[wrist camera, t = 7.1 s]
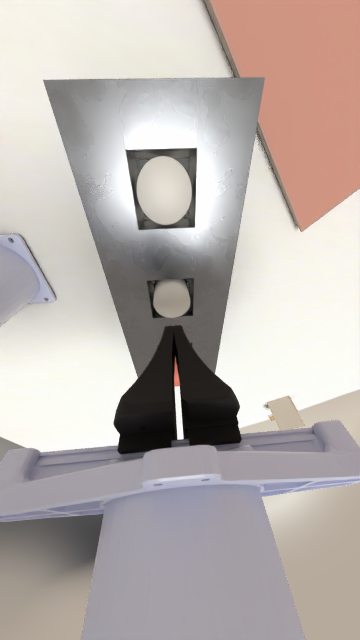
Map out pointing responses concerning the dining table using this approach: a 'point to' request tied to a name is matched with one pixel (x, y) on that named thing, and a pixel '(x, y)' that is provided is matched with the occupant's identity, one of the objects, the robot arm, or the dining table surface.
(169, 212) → the plug
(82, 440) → the dining table surface
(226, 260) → the block
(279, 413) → the architectural model
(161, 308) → the plug
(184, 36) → the dining table surface
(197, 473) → the robot arm
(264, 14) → the notebook
